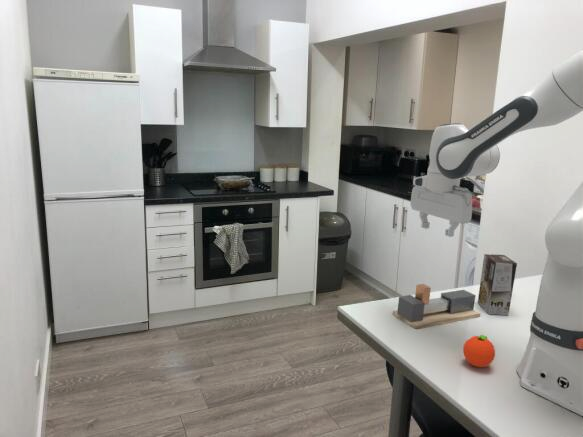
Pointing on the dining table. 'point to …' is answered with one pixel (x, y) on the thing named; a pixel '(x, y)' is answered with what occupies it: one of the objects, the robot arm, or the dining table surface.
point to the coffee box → (496, 284)
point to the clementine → (479, 351)
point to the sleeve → (460, 301)
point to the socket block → (410, 308)
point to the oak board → (439, 318)
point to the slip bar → (431, 300)
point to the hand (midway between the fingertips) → (436, 232)
